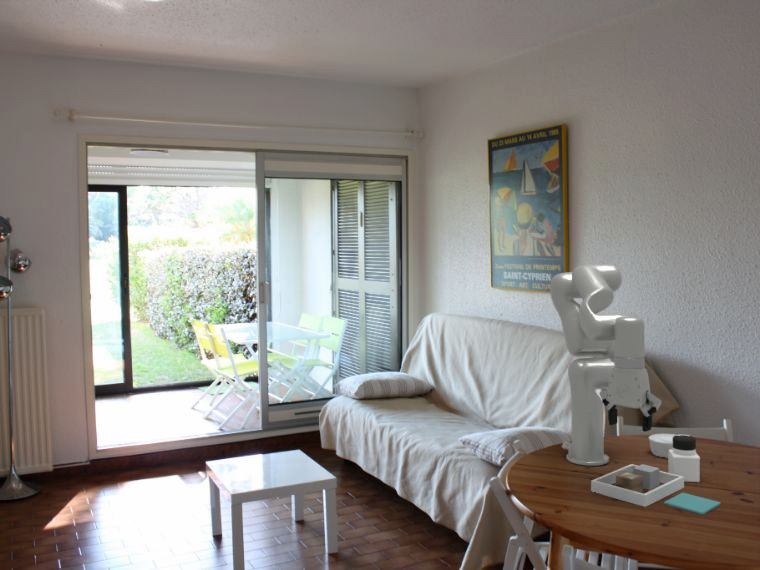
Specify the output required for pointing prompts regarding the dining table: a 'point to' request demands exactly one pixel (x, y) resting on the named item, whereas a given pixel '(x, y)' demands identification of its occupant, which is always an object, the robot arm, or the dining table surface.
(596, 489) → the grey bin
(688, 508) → the teal mat
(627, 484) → the walnut box
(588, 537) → the dining table surface
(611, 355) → the robot arm
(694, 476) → the medicine bottle
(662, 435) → the ramekin
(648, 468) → the slate box
